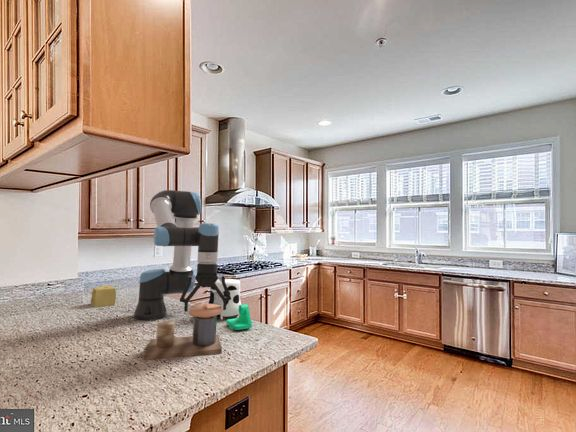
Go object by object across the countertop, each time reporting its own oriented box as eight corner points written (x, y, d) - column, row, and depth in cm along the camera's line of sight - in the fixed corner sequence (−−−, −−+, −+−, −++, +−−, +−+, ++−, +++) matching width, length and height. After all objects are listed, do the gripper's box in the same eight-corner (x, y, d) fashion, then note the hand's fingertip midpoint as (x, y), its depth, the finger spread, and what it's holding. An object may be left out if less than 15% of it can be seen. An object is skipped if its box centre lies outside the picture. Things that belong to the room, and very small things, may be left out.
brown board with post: (144, 359, 106) (145, 331, 107) (150, 343, 122) (151, 318, 122) (221, 353, 114) (222, 326, 114) (218, 338, 129) (219, 315, 130)
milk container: (235, 310, 174) (237, 278, 175) (245, 318, 159) (246, 283, 160) (204, 313, 167) (205, 279, 168) (210, 322, 151) (212, 284, 152)
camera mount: (226, 325, 148) (226, 303, 148) (240, 323, 152) (241, 301, 152) (235, 332, 138) (236, 309, 138) (251, 330, 142) (252, 307, 142)
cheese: (90, 304, 178) (91, 286, 179) (111, 301, 186) (112, 285, 186) (94, 308, 171) (95, 289, 171) (115, 305, 178) (116, 287, 178)
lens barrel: (187, 343, 119) (189, 316, 119) (204, 337, 126) (206, 312, 126) (203, 348, 114) (204, 320, 114) (219, 341, 121) (220, 315, 121)
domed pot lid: (188, 324, 113) (189, 310, 113) (189, 315, 124) (189, 302, 124) (222, 322, 116) (222, 308, 116) (219, 314, 128) (220, 301, 128)
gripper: (174, 264, 114) (171, 323, 113) (239, 263, 121) (237, 320, 120) (175, 261, 121) (172, 318, 120) (237, 261, 128) (235, 315, 127)
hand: (205, 319), depth 120 cm, fingers closed on domed pot lid, 12 cm apart
